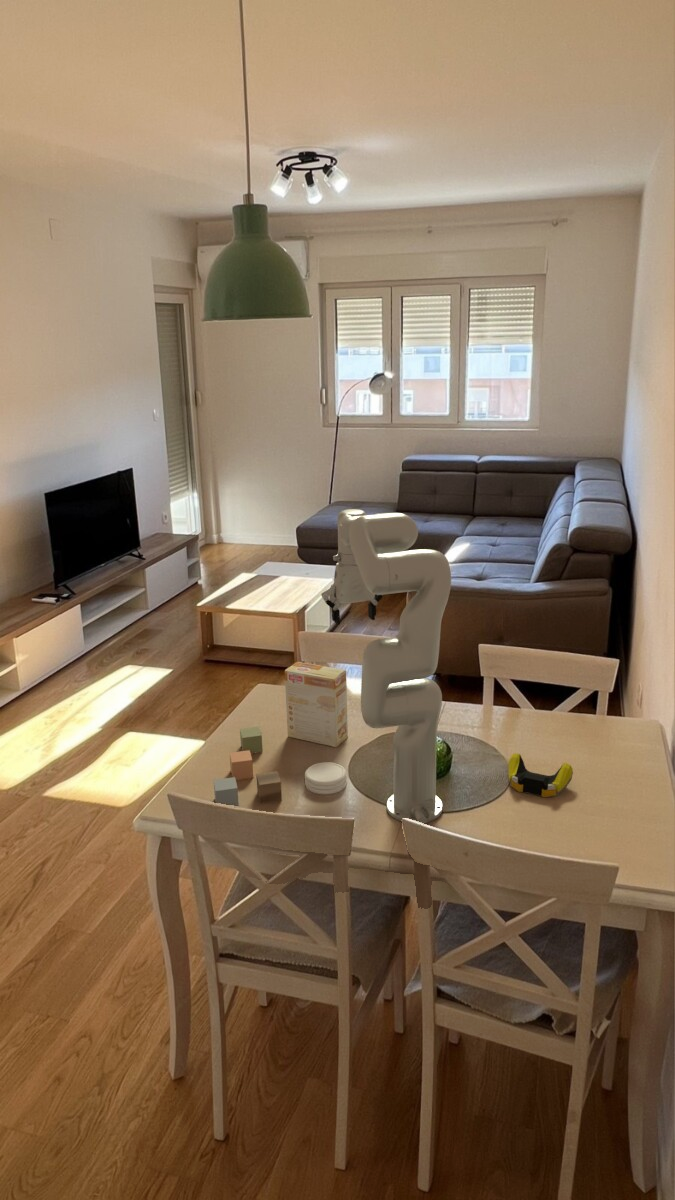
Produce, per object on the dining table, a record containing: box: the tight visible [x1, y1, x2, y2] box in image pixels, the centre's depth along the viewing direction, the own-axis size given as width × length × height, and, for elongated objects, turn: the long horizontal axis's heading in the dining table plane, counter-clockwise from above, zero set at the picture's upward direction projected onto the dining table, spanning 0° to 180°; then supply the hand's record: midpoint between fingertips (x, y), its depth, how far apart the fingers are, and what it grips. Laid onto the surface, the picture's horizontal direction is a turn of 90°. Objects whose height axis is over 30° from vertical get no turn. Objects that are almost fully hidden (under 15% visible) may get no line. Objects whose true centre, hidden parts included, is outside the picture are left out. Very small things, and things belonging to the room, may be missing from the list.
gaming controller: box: [507, 753, 574, 798], centre depth 195 cm, size 15×6×10 cm
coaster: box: [304, 761, 348, 796], centre depth 198 cm, size 10×10×4 cm
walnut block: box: [255, 770, 283, 804], centre depth 193 cm, size 5×5×5 cm
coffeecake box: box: [284, 661, 349, 748], centre depth 218 cm, size 15×7×20 cm, turn 63°
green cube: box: [239, 726, 264, 754], centre depth 215 cm, size 5×5×5 cm
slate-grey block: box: [213, 776, 240, 807], centre depth 191 cm, size 5×5×5 cm
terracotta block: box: [229, 750, 254, 781], centre depth 203 cm, size 5×5×5 cm
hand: (354, 620), depth 218 cm, fingers open, 9 cm apart
